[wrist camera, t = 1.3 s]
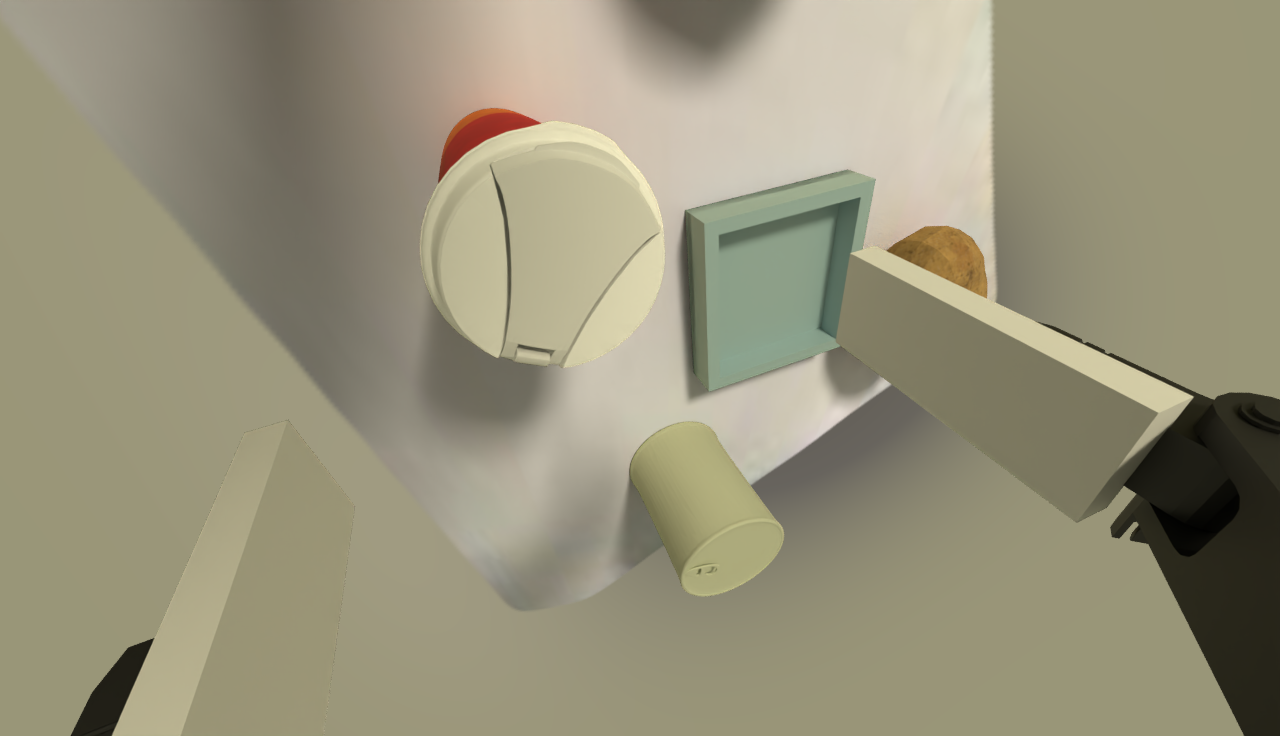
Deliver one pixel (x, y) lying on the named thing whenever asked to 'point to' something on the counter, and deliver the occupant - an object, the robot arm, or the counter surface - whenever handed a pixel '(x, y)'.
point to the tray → (772, 274)
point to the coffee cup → (540, 239)
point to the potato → (945, 256)
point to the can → (704, 509)
